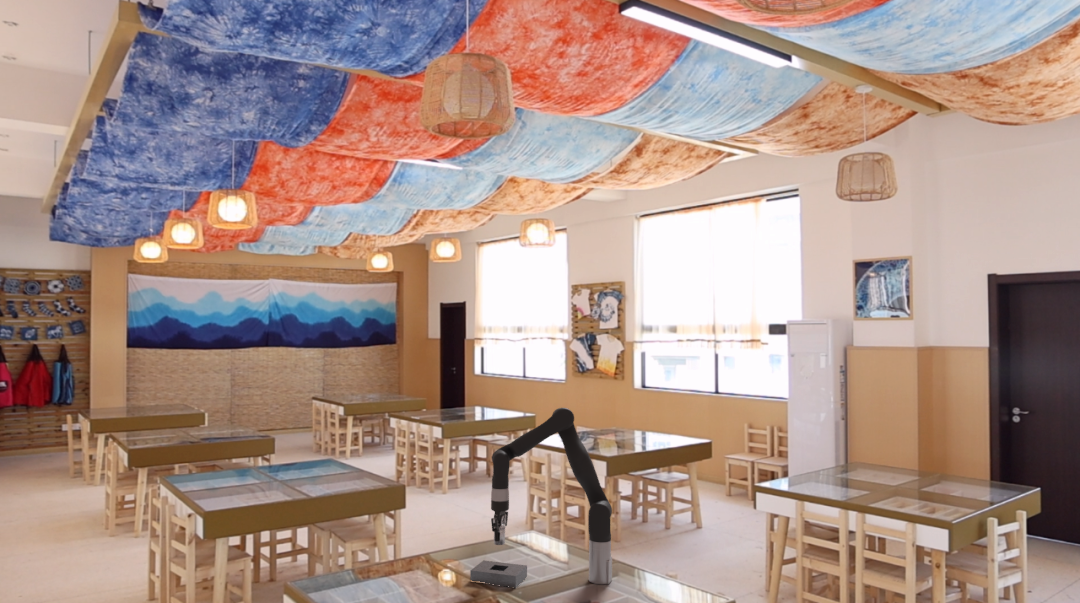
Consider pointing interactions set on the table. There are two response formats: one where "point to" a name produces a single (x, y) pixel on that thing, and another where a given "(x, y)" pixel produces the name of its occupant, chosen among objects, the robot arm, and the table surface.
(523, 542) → the table surface
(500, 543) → the piston
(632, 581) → the table surface
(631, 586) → the table surface
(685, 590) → the table surface
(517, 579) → the grey block with hole
